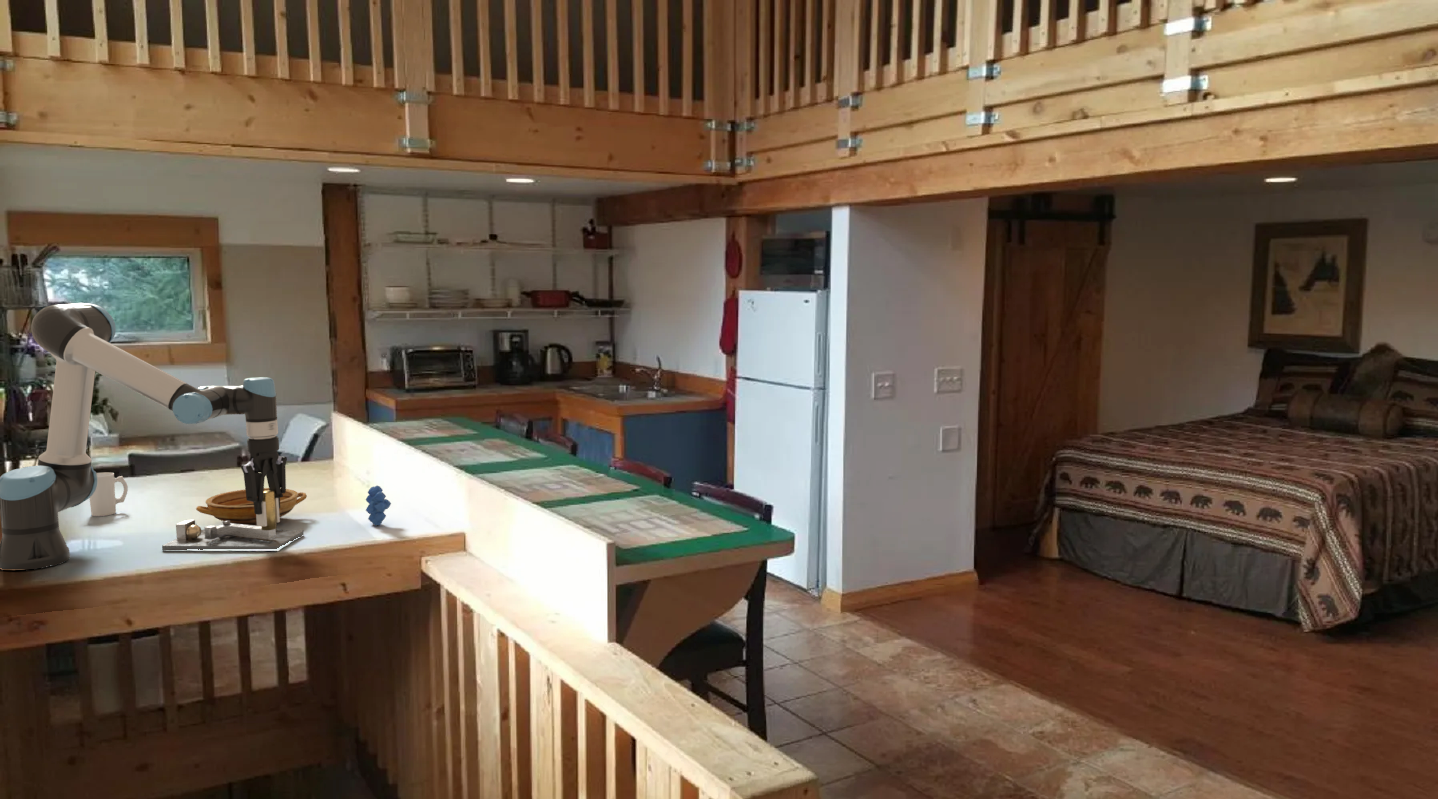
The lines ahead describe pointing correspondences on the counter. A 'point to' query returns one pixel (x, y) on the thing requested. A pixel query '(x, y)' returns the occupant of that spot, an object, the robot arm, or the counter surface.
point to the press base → (224, 539)
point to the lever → (248, 530)
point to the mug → (106, 495)
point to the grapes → (377, 505)
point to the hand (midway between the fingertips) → (268, 523)
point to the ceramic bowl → (245, 506)
